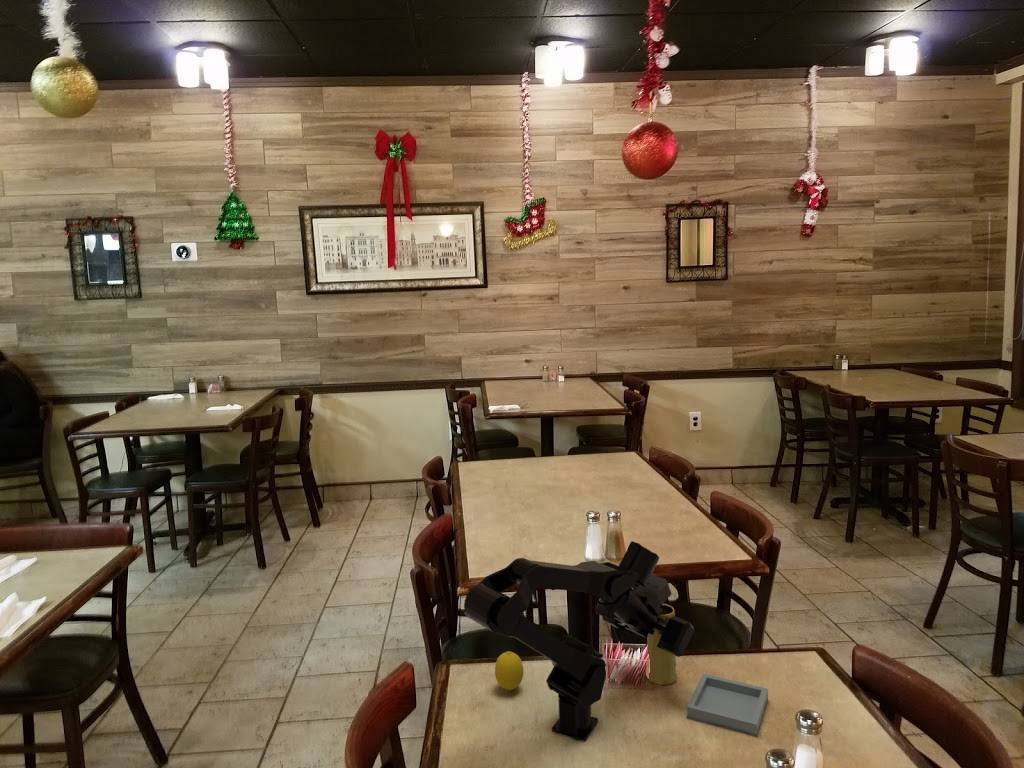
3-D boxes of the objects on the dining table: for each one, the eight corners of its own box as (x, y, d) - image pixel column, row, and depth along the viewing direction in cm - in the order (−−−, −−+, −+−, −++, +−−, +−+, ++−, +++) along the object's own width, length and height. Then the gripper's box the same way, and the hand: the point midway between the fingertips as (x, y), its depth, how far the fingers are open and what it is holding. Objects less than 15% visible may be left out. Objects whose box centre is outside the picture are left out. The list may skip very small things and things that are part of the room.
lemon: (507, 679, 140) (506, 641, 139) (529, 688, 136) (528, 650, 135) (489, 692, 135) (488, 653, 134) (511, 701, 132) (510, 662, 131)
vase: (650, 666, 143) (649, 600, 141) (680, 672, 140) (680, 605, 138) (641, 681, 137) (641, 613, 135) (672, 688, 135) (672, 618, 133)
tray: (756, 736, 119) (756, 724, 119) (686, 718, 125) (686, 706, 125) (767, 699, 130) (768, 688, 130) (702, 684, 136) (703, 673, 135)
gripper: (688, 582, 126) (723, 620, 134) (611, 554, 140) (647, 590, 148) (660, 638, 122) (698, 674, 130) (584, 604, 136) (622, 638, 145)
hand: (665, 640), depth 138 cm, fingers closed on vase, 5 cm apart
